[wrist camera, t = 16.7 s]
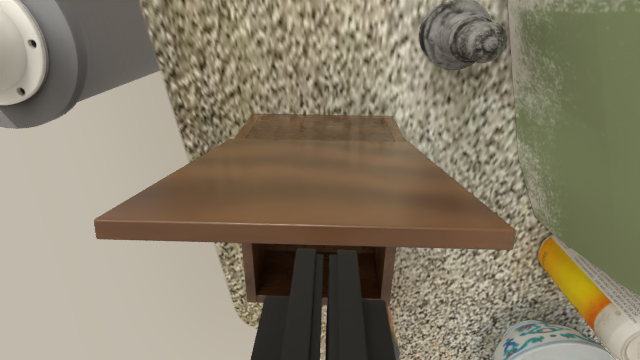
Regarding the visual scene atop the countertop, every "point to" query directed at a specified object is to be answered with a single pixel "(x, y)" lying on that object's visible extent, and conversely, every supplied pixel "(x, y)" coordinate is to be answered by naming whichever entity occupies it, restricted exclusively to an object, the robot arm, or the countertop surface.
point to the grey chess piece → (461, 35)
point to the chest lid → (310, 199)
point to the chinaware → (547, 343)
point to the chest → (278, 259)
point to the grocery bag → (581, 124)
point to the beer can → (595, 297)
